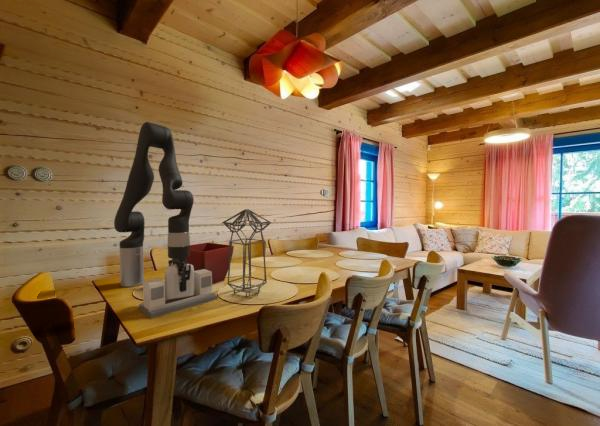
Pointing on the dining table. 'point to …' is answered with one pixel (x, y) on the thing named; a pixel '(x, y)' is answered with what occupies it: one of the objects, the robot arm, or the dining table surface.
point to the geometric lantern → (241, 215)
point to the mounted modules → (156, 288)
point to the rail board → (178, 304)
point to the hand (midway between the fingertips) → (179, 289)
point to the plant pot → (210, 259)
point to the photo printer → (177, 283)
